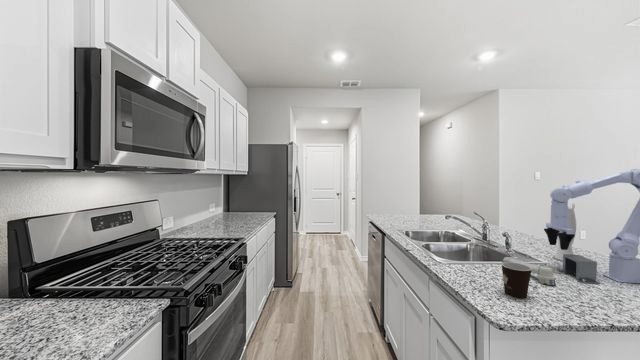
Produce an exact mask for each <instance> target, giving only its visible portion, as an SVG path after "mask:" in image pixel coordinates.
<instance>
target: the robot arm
mask: <svg viewBox="0 0 640 360" xmlns="http://www.w3.org/2000/svg"><path fill="white" fill-rule="evenodd" d="M618 183H623V184H630V185H632V186H633V187H635V188H636V190H637V191H638V192H639V193H640V168H632V169H630V170H625V171H620V172H617V173H612V174H609V175H607V176H604V177H601V178H597V179H595V180H591V181H585V180H576V181H575V182H574V183H572V184H568V185H561V188H560V187H558V188H557V187H556V188H554V189H553V190H552V191H551V192H550V198H551V204H550V222H546V223H545V228H543V230H544V232H545V234H546V236H547V240H548V243H549V245H550V246H556V245H557V244H558V241H557V237H559V240H560V248H561V249H562V250H567V249H568V247H569V244H570V242H571V240H572V239H573V238H574V237H575V238H576V234H573V230H572V229H570V228H569V227H568V206H569V205H568V204H569V203H568V202H569V200H570V199H571V200H572V199H576V198H579V197H583V196H587V195H589V194H591V193H592V191H593V190H594V189H599V188H603V187H606V186H607V187H608V186H610V185H614V184H618ZM560 231H561V232H563V233H559V232H560ZM575 238H574V239H575ZM639 245H640V198H638V201H637V202H636V203H635V206H634V208H633V209H632V211H631V214H629V217H628V219H627V221H626V222H625V224H624V226H623V227H622V229H621V231H619V232H618V233H617V234H616V236H615V237H613V238H612V239H610V240H609V242H608V248H609V250H611V252H610V253H609V260H608V273H602V276H605V277H606V278H608V279H611V280H613V281H616V282H618V283H631V284H640V258H639V257H637V256H638V254H639Z"/></svg>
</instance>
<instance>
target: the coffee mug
mask: <svg viewBox="0 0 640 360" xmlns="http://www.w3.org/2000/svg"><path fill="white" fill-rule="evenodd" d="M501 270H502V271H501V272H502V280H503V289H504V294H505V295H506V296H508V297H510V298H513V299H519V300H523V299H524V300H525V299H527V298H528V292H529V286H530V281H531V276H532V275H531V274H532V272H531V270H532V268H531V267H529V266H526V265H523V264H519V263H511V262H505V263H502V262H501Z"/></svg>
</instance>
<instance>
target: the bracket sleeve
mask: <svg viewBox="0 0 640 360" xmlns="http://www.w3.org/2000/svg"><path fill="white" fill-rule="evenodd" d="M597 265H598V261H595V260H593V259H591V258H588V257H585V256H583V255H580V254H574V255H571V254H563V262H562V268H557V271H558V272H560V273H563V274H566V275H575V280H577V282H578V283H580V284H584V285H585V284H589V285H601V283H600V281H597V273H598V269H597V267H598V266H597Z"/></svg>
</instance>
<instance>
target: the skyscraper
mask: <svg viewBox="0 0 640 360" xmlns="http://www.w3.org/2000/svg"><path fill="white" fill-rule="evenodd" d="M575 208H576V206H575V203H574V202H573V203H572V205H568V227H569V228H570V229H572V230H573V234H575V235H576V233H577V219H576V214H575ZM559 233H563V232H561V231H560V232H559ZM575 238H576V236H575V237H574V238H573V239H572V240H571V242H570V244H569V247H568V249H567V250H562V249H561V248H560V240H559V237H557V245H558V246H557V249H556V252H555V255H554V256H552V259H554V260H557V261H560V262H562V263H563V254H571V255H575V254H574V252H573V244H574V241H575Z"/></svg>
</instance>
